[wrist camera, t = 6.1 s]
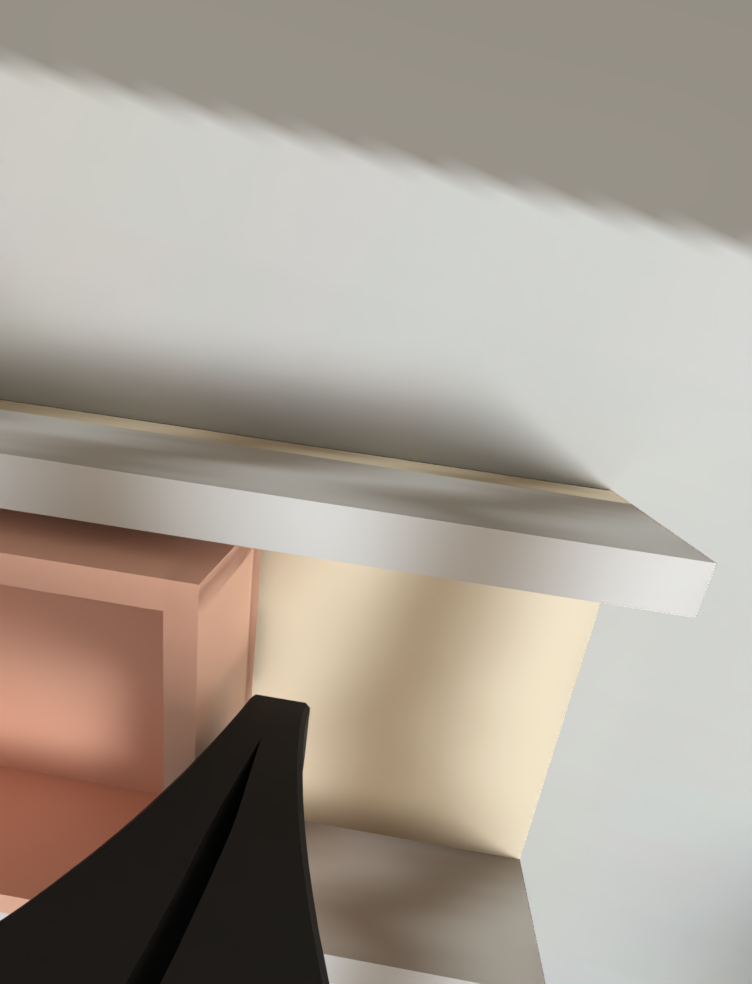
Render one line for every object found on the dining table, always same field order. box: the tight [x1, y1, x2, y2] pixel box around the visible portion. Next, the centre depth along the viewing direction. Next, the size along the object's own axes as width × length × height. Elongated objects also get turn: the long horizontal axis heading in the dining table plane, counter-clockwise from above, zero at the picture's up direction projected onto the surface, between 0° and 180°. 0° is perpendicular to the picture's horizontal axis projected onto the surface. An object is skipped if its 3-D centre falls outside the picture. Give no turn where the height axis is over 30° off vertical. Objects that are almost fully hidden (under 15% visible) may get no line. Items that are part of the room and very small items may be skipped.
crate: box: [0, 508, 261, 914], centre depth 11 cm, size 10×9×3 cm
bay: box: [0, 400, 717, 984], centre depth 11 cm, size 20×12×4 cm, turn 82°
